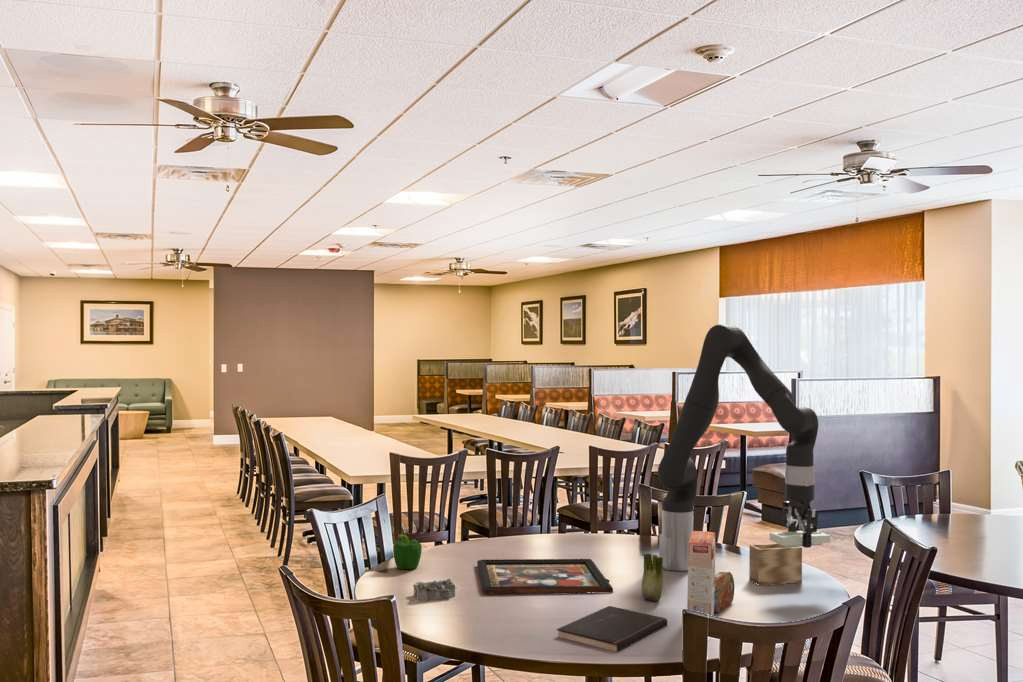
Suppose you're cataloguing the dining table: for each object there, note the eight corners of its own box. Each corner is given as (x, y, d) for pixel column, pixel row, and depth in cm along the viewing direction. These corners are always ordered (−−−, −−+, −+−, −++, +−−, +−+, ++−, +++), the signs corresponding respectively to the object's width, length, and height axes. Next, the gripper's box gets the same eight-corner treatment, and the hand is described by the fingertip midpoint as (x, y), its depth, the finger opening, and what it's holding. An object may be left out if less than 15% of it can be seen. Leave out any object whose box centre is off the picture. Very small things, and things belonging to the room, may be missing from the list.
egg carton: (417, 602, 226) (417, 586, 226) (411, 594, 234) (411, 579, 234) (457, 599, 230) (457, 583, 230) (451, 591, 237) (451, 576, 237)
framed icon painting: (486, 601, 229) (486, 590, 229) (465, 568, 263) (465, 559, 263) (625, 595, 236) (625, 584, 236) (587, 564, 271) (587, 555, 271)
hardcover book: (556, 639, 200) (556, 629, 200) (609, 614, 218) (609, 605, 218) (617, 654, 190) (617, 644, 190) (667, 628, 208) (667, 618, 208)
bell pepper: (424, 565, 264) (424, 531, 264) (418, 572, 256) (418, 537, 256) (396, 564, 265) (396, 530, 265) (390, 571, 257) (390, 536, 257)
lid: (782, 548, 231) (782, 536, 231) (769, 542, 238) (769, 531, 238) (830, 545, 234) (830, 534, 234) (816, 540, 241) (816, 529, 241)
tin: (714, 616, 216) (714, 582, 216) (702, 614, 218) (702, 580, 218) (735, 601, 228) (735, 569, 228) (723, 599, 230) (724, 567, 230)
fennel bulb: (665, 602, 227) (665, 555, 227) (648, 603, 226) (648, 557, 226) (654, 596, 233) (655, 550, 233) (638, 597, 231) (638, 552, 231)
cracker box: (712, 634, 202) (713, 543, 202) (686, 632, 204) (686, 541, 204) (715, 616, 215) (716, 531, 216) (690, 614, 217) (691, 529, 217)
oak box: (759, 585, 244) (759, 549, 244) (749, 580, 249) (749, 544, 249) (801, 583, 247) (802, 547, 247) (790, 577, 252) (791, 542, 252)
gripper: (773, 478, 242) (773, 539, 242) (801, 486, 228) (801, 551, 228) (797, 477, 244) (797, 538, 244) (827, 485, 230) (827, 549, 230)
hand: (799, 544), depth 236 cm, fingers closed on lid, 6 cm apart
